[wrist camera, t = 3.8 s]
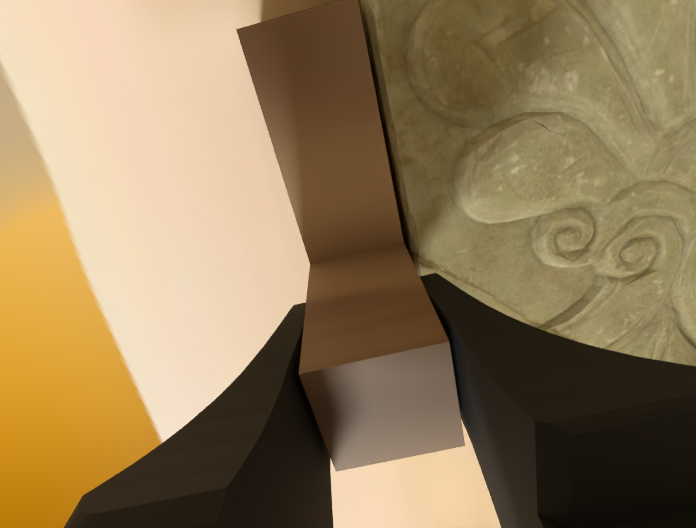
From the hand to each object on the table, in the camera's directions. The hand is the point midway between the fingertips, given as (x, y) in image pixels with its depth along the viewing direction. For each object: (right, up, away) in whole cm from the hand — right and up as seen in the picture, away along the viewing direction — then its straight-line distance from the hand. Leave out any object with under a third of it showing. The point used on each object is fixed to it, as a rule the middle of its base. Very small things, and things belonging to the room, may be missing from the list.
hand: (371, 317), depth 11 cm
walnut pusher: (0, +2, +4) cm, 4 cm away
